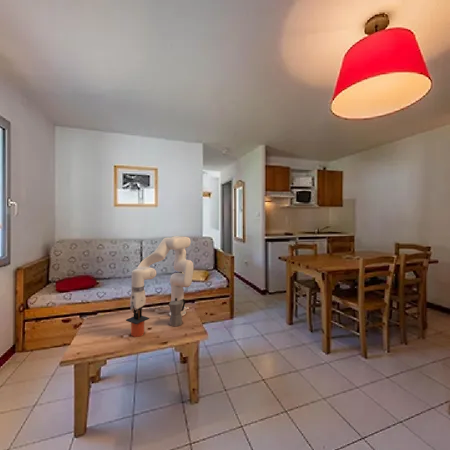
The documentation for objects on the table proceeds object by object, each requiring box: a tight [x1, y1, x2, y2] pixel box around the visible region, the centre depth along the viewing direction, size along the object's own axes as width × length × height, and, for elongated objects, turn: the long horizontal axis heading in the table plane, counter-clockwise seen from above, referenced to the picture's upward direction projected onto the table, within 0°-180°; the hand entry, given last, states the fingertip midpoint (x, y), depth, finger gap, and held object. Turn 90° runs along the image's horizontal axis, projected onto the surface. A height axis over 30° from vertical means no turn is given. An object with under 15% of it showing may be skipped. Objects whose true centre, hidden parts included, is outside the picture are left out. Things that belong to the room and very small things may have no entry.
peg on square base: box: [125, 310, 150, 324], centre depth 154 cm, size 10×10×6 cm
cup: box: [130, 321, 145, 338], centre depth 154 cm, size 8×8×9 cm
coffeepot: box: [168, 298, 186, 327], centre depth 171 cm, size 15×9×18 cm, turn 144°
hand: (137, 317), depth 154 cm, fingers closed on peg on square base, 2 cm apart
